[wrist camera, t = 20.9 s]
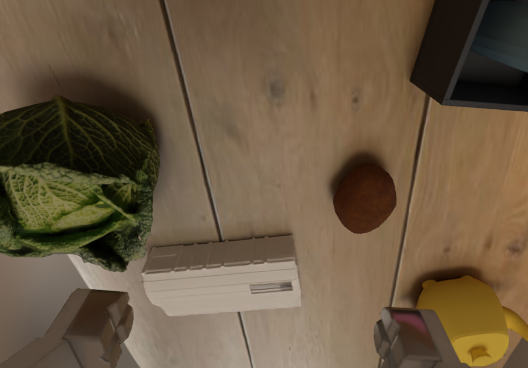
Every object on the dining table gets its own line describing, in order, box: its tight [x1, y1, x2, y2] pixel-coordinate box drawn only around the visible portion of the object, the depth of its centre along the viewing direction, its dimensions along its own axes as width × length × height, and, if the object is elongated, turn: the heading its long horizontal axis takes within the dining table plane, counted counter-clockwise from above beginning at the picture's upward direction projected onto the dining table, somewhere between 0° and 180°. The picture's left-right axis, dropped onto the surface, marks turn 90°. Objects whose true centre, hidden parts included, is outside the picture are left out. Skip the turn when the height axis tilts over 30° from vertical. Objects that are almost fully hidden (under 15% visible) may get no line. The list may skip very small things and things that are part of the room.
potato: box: [333, 163, 396, 234], centre depth 43 cm, size 8×11×8 cm
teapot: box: [416, 275, 528, 366], centre depth 53 cm, size 14×20×13 cm
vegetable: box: [0, 95, 160, 272], centre depth 37 cm, size 20×19×20 cm
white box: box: [141, 234, 302, 316], centre depth 54 cm, size 25×15×7 cm, turn 99°
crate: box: [410, 0, 528, 112], centre depth 31 cm, size 13×13×9 cm
